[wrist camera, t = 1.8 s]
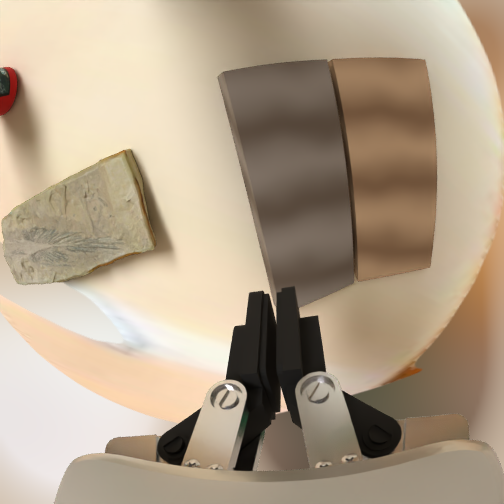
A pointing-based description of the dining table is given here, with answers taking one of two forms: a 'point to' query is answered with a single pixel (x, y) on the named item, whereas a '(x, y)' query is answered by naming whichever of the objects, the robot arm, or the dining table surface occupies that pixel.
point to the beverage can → (7, 89)
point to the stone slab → (79, 224)
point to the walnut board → (388, 162)
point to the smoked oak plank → (293, 173)
